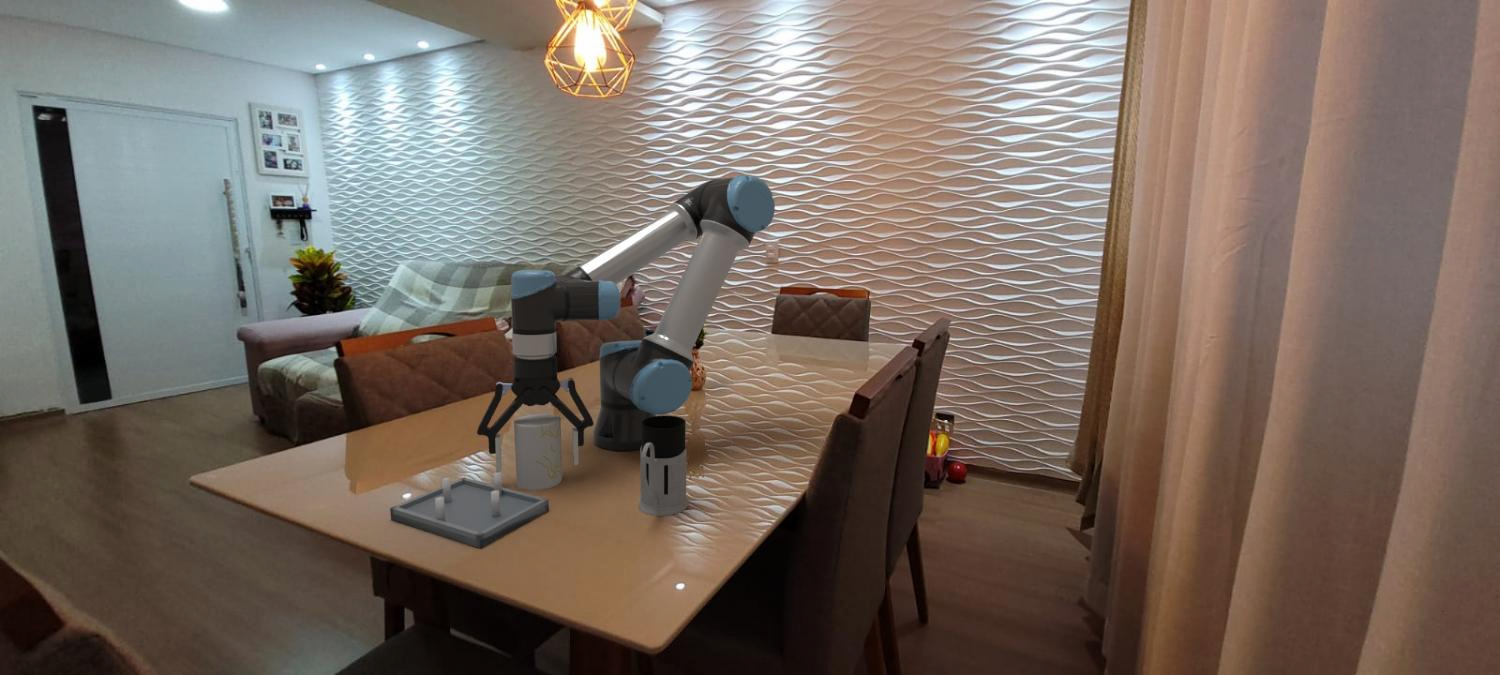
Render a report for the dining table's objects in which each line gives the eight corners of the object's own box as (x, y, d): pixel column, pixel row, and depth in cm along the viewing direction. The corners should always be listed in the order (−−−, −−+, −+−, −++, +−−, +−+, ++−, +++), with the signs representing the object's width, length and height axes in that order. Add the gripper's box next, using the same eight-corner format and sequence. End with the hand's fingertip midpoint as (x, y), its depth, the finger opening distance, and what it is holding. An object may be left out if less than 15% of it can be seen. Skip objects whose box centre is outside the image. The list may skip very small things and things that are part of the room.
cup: (547, 492, 107) (545, 428, 105) (507, 487, 108) (504, 424, 106) (570, 475, 115) (568, 415, 113) (532, 471, 116) (530, 412, 114)
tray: (548, 510, 100) (547, 481, 99) (480, 548, 87) (478, 515, 86) (464, 487, 108) (463, 460, 107) (390, 519, 95) (388, 489, 94)
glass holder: (694, 496, 106) (695, 416, 104) (669, 534, 92) (669, 442, 90) (648, 491, 108) (648, 412, 105) (617, 528, 94) (616, 438, 92)
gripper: (602, 349, 115) (603, 452, 119) (461, 354, 107) (467, 465, 110) (607, 356, 108) (608, 466, 112) (457, 362, 100) (463, 480, 103)
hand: (538, 466), depth 111 cm, fingers open, 13 cm apart
